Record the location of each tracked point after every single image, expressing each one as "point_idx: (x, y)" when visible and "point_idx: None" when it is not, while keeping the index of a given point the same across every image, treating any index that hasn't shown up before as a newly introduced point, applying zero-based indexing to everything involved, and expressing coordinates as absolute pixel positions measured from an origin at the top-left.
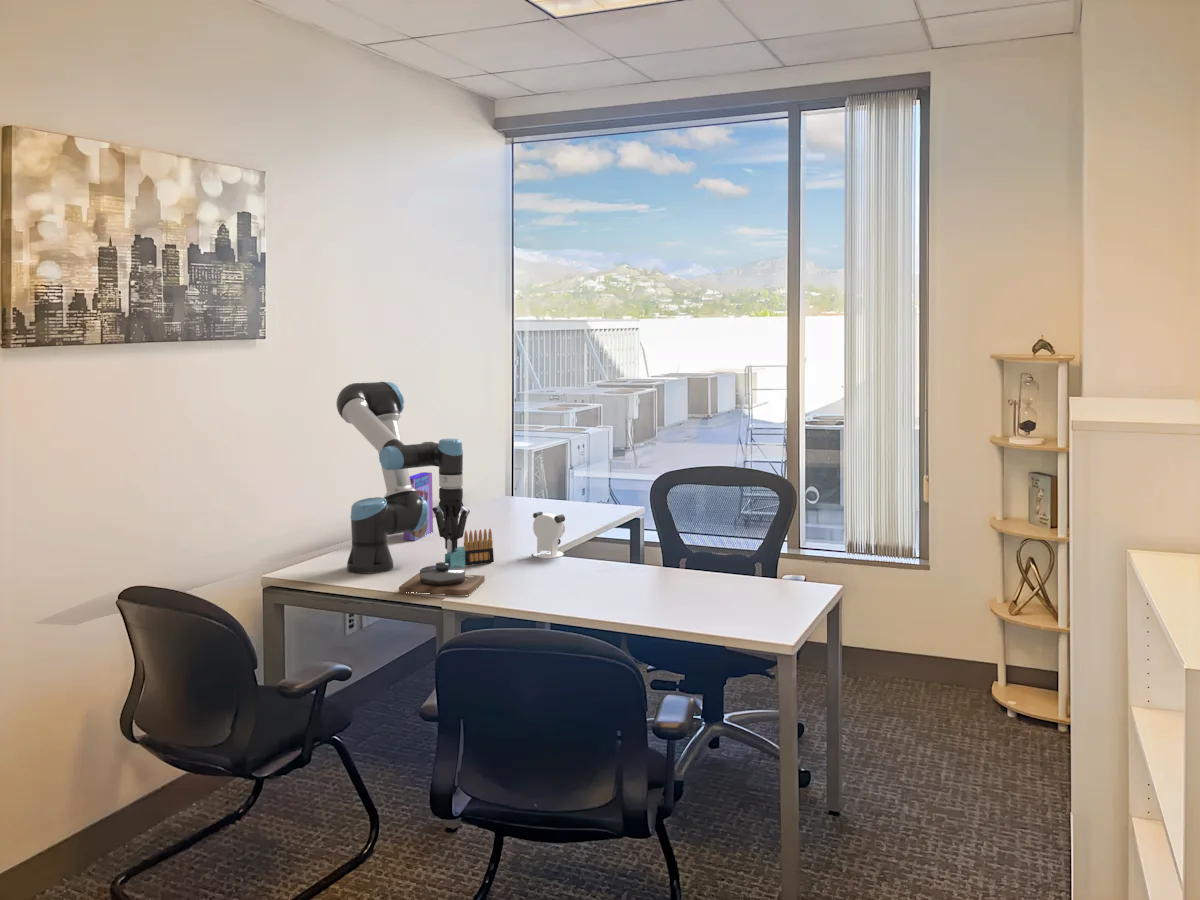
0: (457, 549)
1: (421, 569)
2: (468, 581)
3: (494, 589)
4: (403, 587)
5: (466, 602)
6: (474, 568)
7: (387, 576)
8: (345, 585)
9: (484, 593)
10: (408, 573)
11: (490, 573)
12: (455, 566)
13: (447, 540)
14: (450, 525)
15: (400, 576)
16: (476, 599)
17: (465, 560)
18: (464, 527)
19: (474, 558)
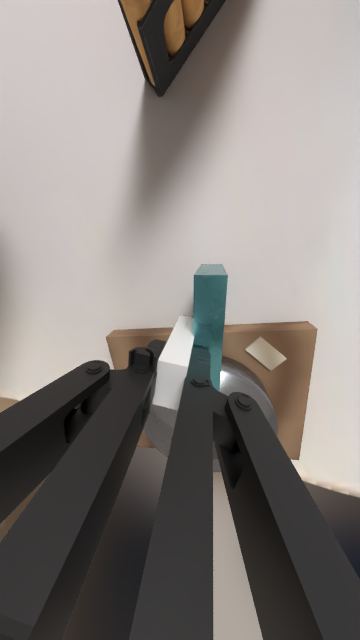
0: (209, 346)
1: (145, 427)
2: (278, 396)
3: (353, 389)
4: (145, 446)
5: None
6: (217, 135)
7: (36, 323)
8: (22, 398)
9: (329, 422)
10: (57, 283)
11: (306, 201)
12: (229, 388)
13: (155, 402)
14: (110, 475)
15: (60, 316)
16: (317, 460)
17: (157, 77)
18: (313, 509)
19: (186, 9)
